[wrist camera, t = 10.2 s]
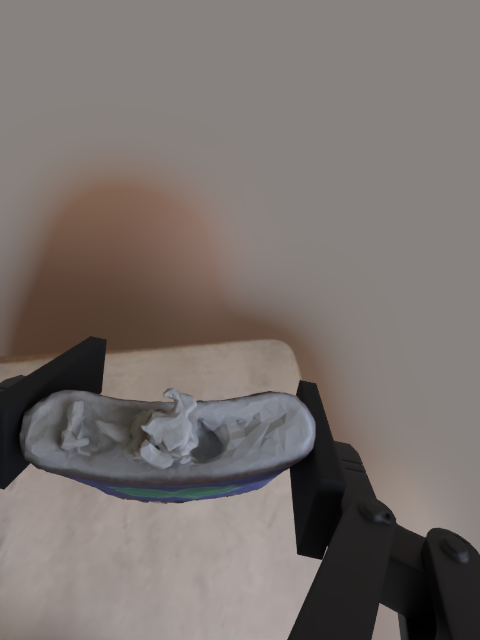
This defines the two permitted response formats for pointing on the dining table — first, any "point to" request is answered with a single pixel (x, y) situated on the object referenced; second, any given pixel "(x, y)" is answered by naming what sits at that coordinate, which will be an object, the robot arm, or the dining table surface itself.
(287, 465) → the flask
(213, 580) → the dining table surface
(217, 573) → the dining table surface
